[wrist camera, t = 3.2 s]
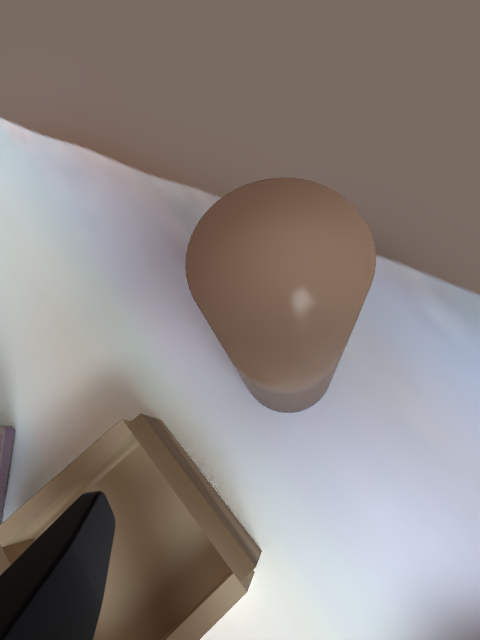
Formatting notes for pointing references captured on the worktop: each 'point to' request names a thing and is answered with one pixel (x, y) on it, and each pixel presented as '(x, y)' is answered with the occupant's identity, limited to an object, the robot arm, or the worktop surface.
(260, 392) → the brown dome-top cylinder
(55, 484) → the tray
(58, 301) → the worktop surface
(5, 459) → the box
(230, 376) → the worktop surface
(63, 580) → the robot arm
